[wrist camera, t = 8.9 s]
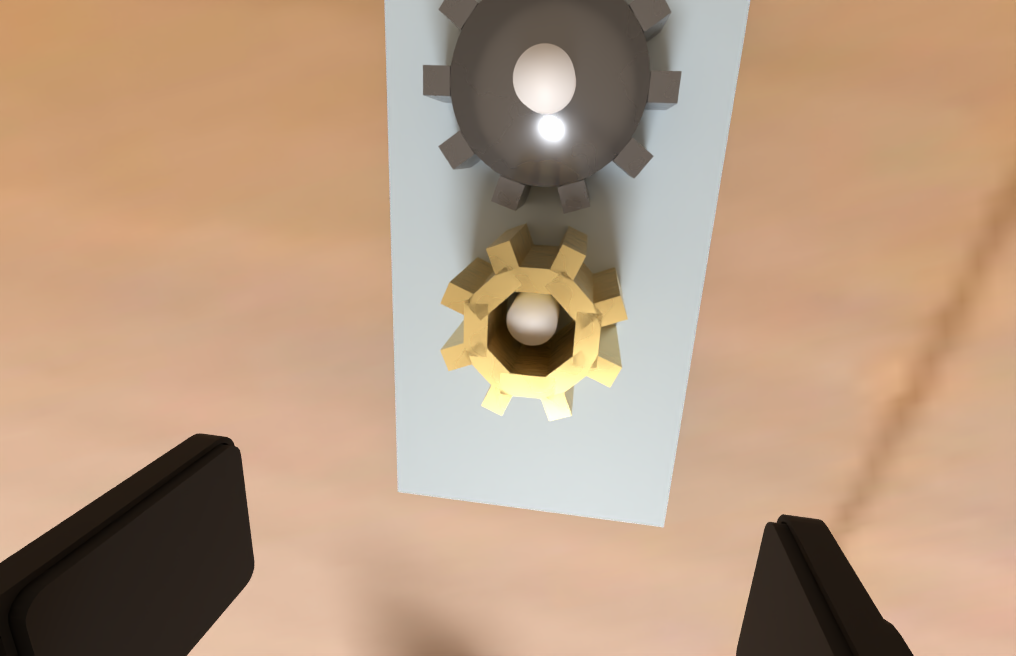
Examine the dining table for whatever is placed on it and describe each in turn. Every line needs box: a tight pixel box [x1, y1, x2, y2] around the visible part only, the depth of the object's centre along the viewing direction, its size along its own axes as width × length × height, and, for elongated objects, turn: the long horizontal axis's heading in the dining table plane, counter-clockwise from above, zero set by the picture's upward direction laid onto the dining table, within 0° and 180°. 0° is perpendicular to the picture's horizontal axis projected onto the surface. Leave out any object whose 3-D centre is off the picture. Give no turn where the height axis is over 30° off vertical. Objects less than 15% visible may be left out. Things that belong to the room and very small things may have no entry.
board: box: [385, 0, 750, 527], centre depth 22 cm, size 14×26×6 cm, turn 177°
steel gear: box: [423, 0, 682, 214], centre depth 20 cm, size 9×9×3 cm
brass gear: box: [440, 223, 628, 421], centre depth 22 cm, size 7×7×5 cm
